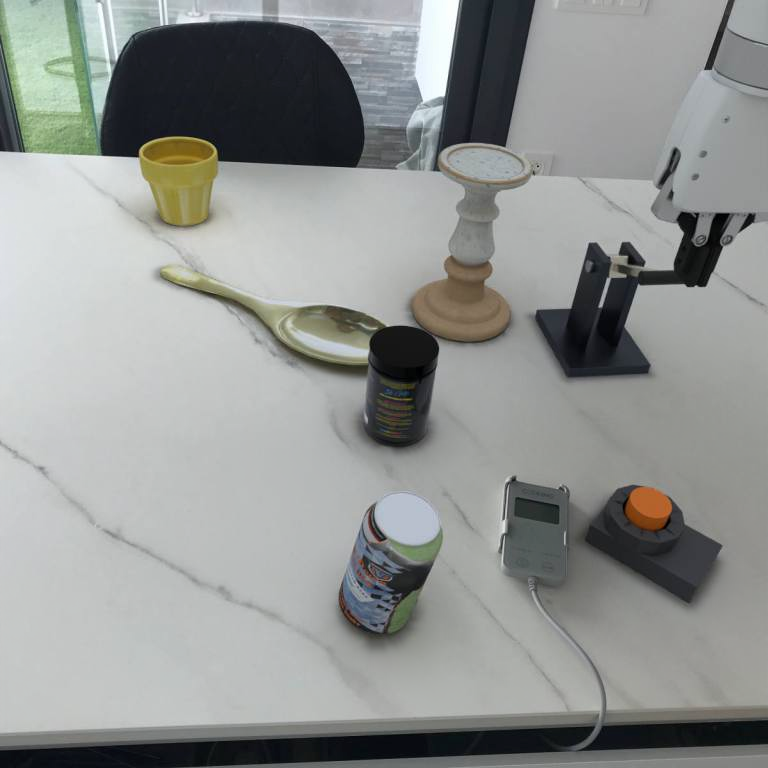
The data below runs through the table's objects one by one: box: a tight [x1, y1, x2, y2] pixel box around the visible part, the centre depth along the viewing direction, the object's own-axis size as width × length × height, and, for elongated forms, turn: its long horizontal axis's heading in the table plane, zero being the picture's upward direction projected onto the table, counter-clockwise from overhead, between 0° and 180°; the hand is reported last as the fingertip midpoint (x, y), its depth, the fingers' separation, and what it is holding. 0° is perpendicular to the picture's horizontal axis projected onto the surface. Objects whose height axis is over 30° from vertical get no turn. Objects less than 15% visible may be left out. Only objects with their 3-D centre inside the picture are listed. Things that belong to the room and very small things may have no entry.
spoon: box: [160, 264, 391, 366], centre depth 93 cm, size 35×11×2 cm, turn 59°
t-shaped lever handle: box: [605, 253, 685, 287], centre depth 82 cm, size 13×5×2 cm, turn 9°
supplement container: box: [363, 324, 440, 447], centre depth 77 cm, size 7×7×10 cm
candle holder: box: [411, 142, 534, 343], centre depth 91 cm, size 12×12×20 cm
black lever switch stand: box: [534, 241, 651, 378], centre depth 90 cm, size 12×10×13 cm
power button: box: [625, 486, 672, 531], centre depth 68 cm, size 4×4×2 cm
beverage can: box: [338, 490, 444, 636], centre depth 59 cm, size 6×7×12 cm
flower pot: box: [138, 136, 219, 227], centre depth 108 cm, size 10×10×10 cm
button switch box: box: [584, 484, 723, 603], centre depth 69 cm, size 10×6×4 cm, turn 51°
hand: (689, 278), depth 68 cm, fingers closed
